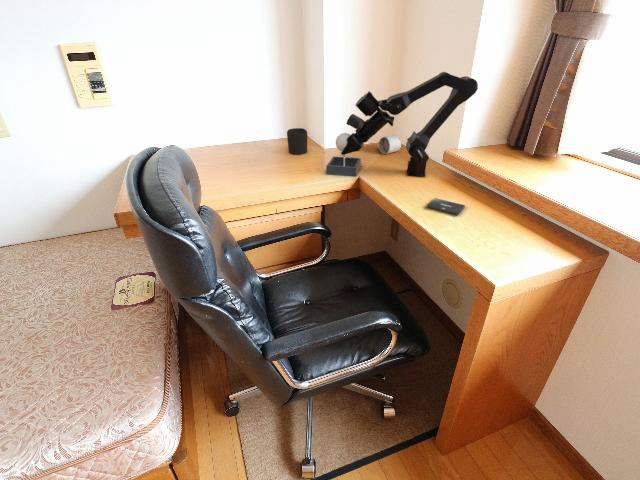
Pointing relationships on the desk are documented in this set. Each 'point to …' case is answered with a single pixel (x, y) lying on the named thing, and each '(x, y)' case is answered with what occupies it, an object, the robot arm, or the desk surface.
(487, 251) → the desk surface
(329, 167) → the caddy
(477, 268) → the desk surface
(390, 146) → the ceramic mug
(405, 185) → the desk surface
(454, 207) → the solid state drive
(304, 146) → the pen holder
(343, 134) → the lollipop
